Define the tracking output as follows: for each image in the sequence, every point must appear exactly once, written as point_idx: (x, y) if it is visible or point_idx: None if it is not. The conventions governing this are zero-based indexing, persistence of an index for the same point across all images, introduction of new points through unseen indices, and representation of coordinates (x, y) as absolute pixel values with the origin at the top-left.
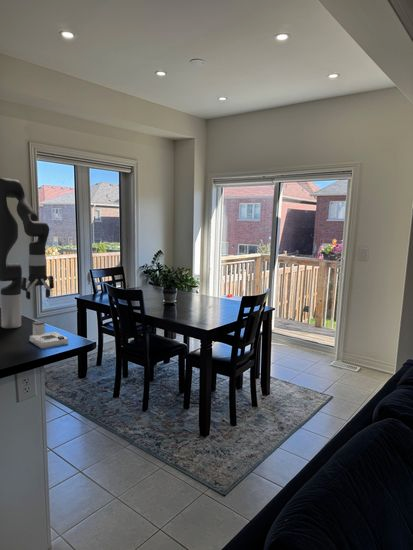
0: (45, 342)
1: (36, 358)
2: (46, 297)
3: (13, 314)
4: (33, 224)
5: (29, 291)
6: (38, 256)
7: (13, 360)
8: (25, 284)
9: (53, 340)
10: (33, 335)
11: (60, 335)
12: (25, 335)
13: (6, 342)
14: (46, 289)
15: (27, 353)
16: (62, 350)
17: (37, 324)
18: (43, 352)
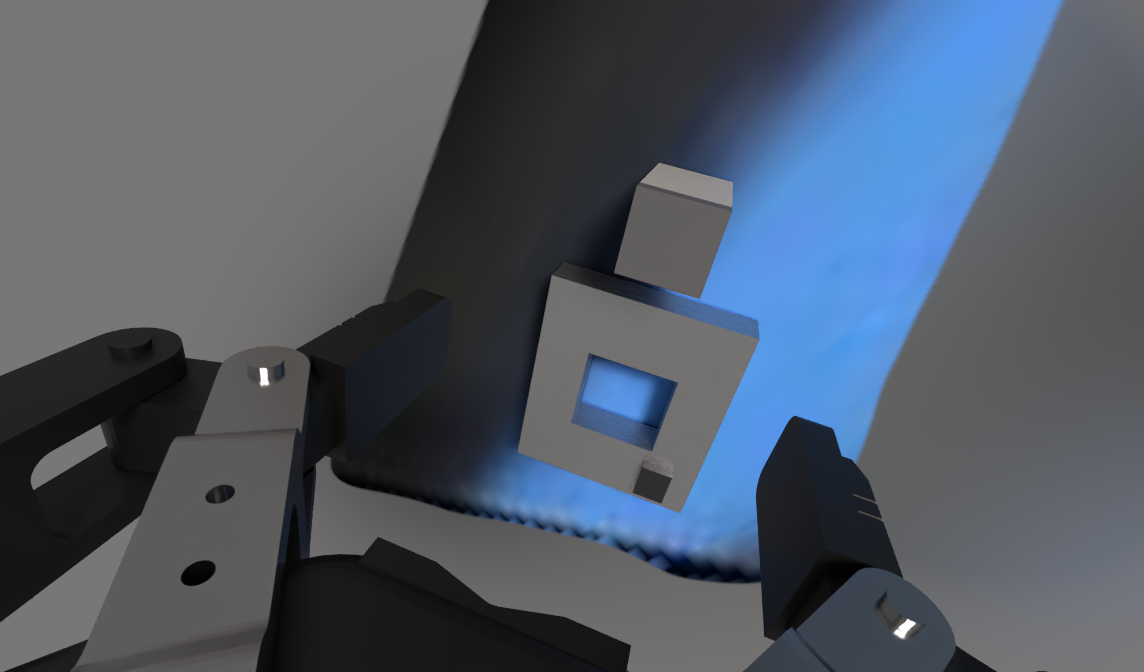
0: (540, 458)
1: (451, 491)
2: (776, 443)
3: None
4: None
5: (333, 445)
6: None
7: None
8: (30, 581)
9: (594, 469)
10: (575, 291)
11: (701, 436)
12: (641, 76)
13: (448, 152)
14: (816, 594)
15: (452, 418)
16: (591, 516)
17: (630, 274)
18: (512, 466)
